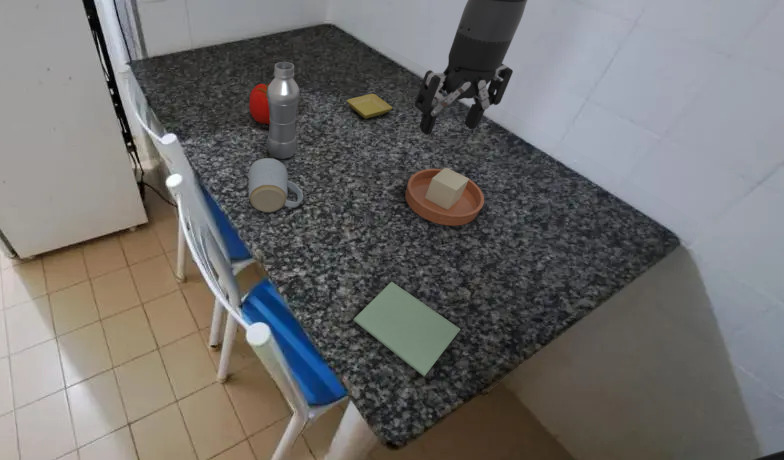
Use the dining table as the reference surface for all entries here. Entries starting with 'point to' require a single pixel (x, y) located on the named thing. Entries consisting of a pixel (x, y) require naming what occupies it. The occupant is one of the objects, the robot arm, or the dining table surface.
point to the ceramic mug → (271, 186)
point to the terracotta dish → (454, 216)
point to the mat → (407, 327)
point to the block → (446, 188)
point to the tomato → (260, 104)
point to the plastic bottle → (282, 111)
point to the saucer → (369, 105)
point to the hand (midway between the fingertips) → (447, 129)
